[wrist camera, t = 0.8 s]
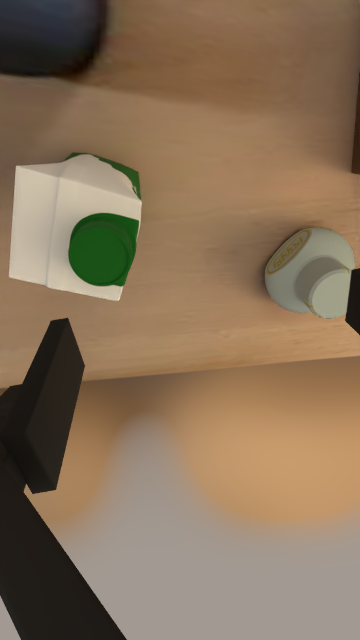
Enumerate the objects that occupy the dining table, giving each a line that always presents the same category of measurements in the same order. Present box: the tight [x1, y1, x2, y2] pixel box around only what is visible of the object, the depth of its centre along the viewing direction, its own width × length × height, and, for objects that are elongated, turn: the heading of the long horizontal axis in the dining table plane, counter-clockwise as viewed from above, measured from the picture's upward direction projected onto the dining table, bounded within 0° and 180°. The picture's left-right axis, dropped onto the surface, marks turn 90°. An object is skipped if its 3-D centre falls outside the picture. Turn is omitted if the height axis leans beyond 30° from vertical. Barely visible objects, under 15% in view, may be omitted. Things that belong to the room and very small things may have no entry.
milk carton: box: [9, 153, 142, 301], centre depth 30 cm, size 9×9×20 cm
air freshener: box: [265, 227, 355, 319], centre depth 41 cm, size 11×8×10 cm
